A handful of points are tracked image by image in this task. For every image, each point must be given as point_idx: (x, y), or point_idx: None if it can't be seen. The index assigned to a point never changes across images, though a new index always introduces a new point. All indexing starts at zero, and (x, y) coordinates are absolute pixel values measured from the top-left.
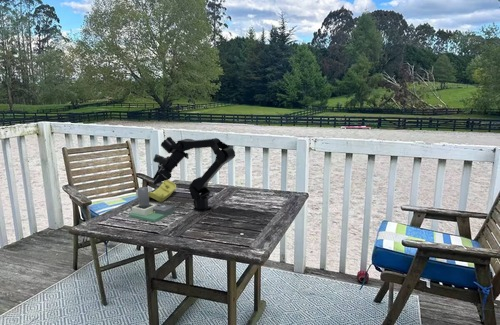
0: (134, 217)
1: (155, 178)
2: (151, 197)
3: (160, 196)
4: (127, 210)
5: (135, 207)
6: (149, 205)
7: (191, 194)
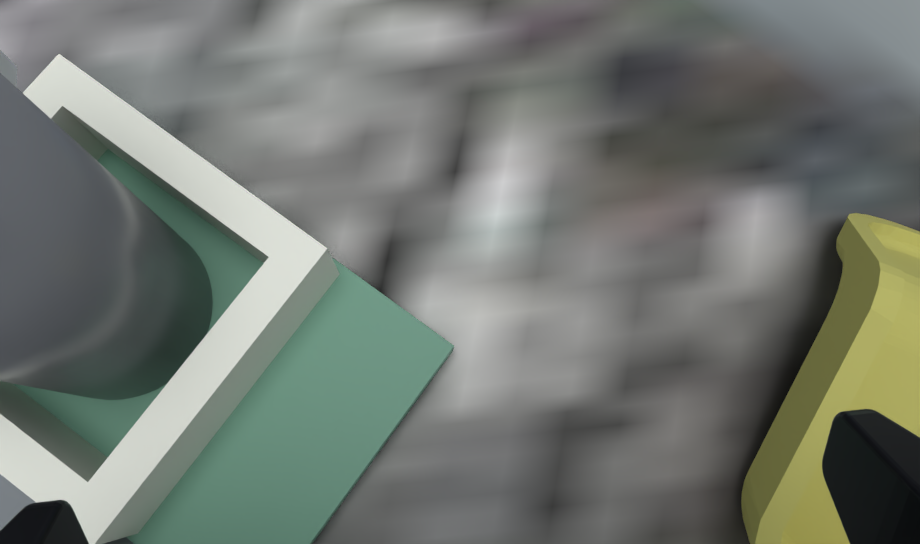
0: None
1: (859, 525)
2: (812, 346)
3: None
4: (386, 13)
5: None
6: (37, 387)
7: None
